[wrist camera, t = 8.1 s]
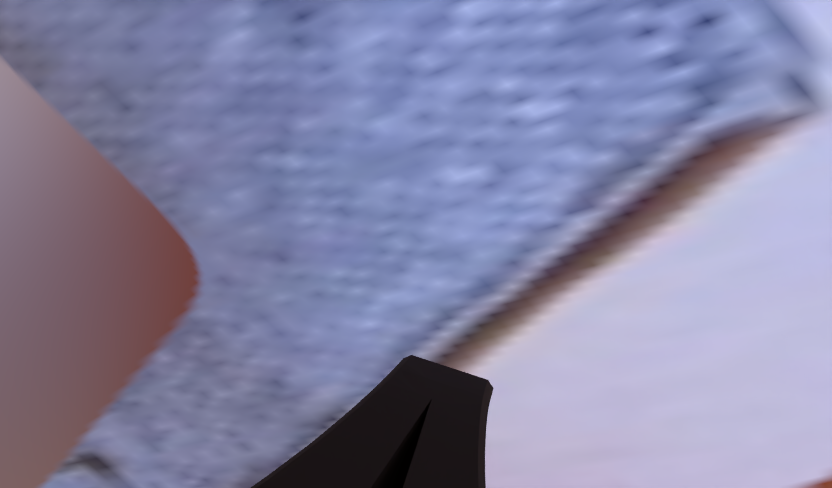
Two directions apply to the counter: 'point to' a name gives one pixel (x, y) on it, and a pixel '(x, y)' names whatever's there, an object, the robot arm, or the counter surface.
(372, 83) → the counter surface
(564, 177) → the counter surface
